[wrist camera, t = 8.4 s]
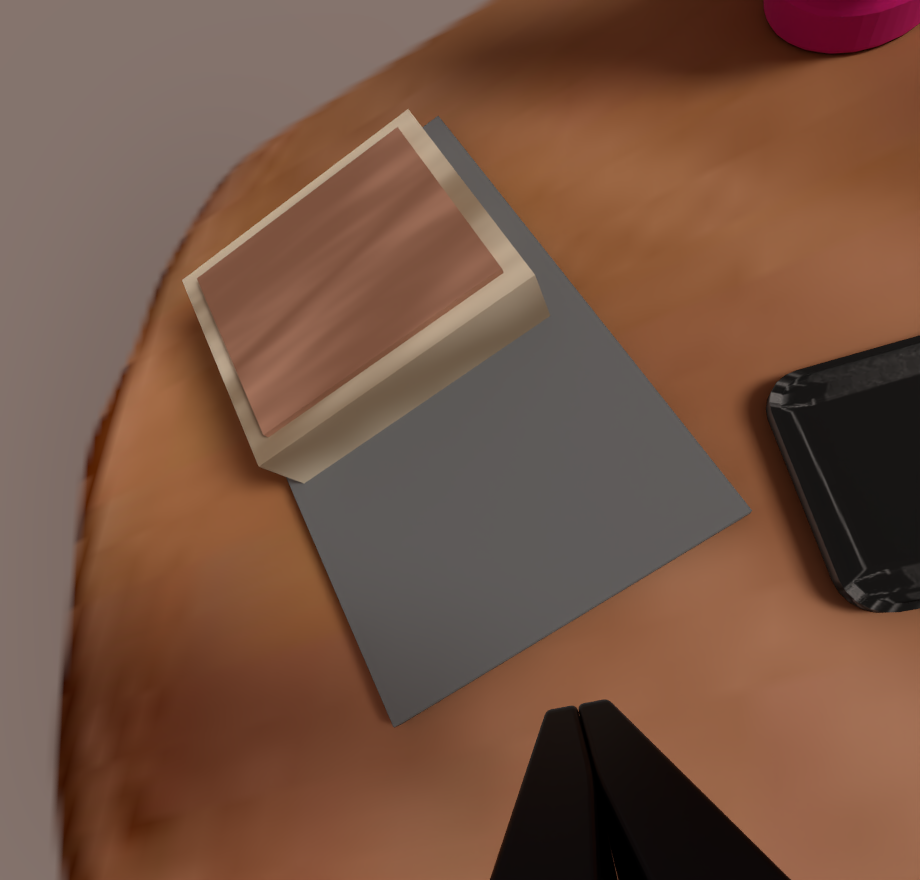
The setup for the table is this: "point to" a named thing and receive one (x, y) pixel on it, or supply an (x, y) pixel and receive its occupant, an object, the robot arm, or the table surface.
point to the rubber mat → (508, 494)
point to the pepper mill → (841, 22)
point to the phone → (858, 468)
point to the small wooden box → (359, 301)
